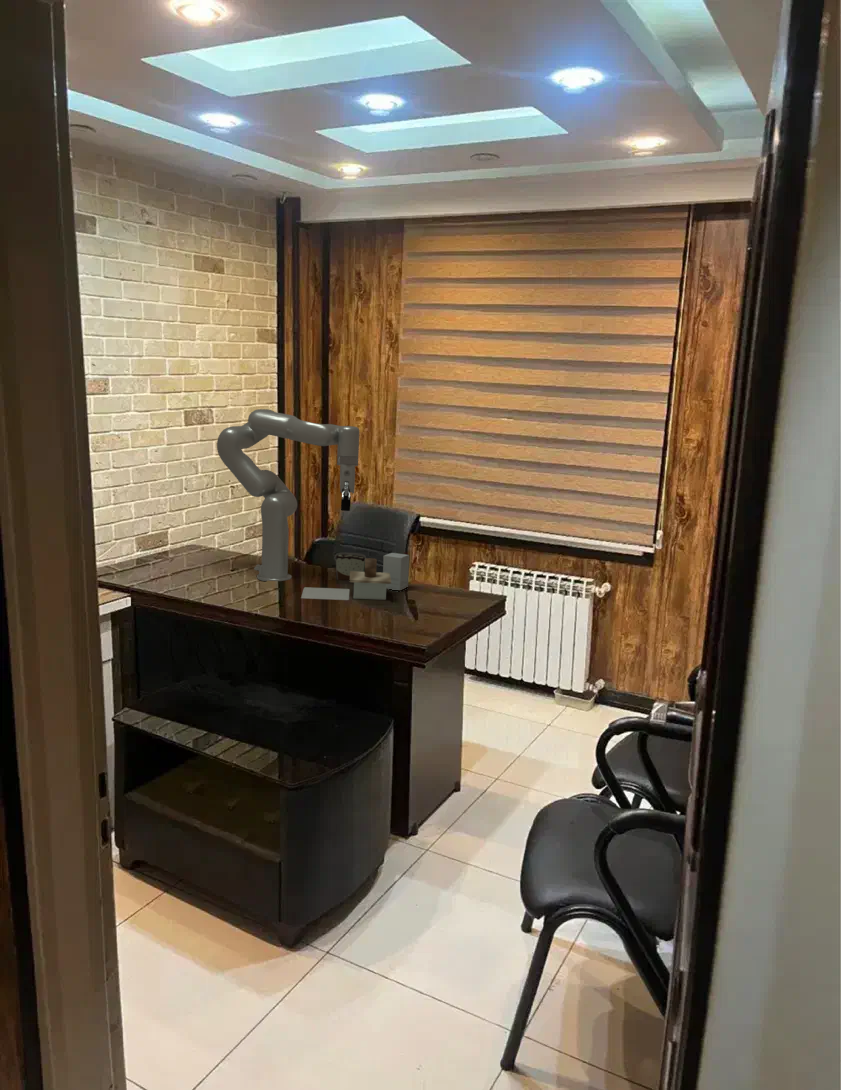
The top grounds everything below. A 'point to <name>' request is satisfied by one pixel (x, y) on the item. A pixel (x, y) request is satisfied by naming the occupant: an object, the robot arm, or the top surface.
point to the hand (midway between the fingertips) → (345, 508)
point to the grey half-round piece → (348, 564)
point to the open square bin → (369, 591)
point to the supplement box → (396, 570)
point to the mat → (325, 593)
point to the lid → (370, 574)
